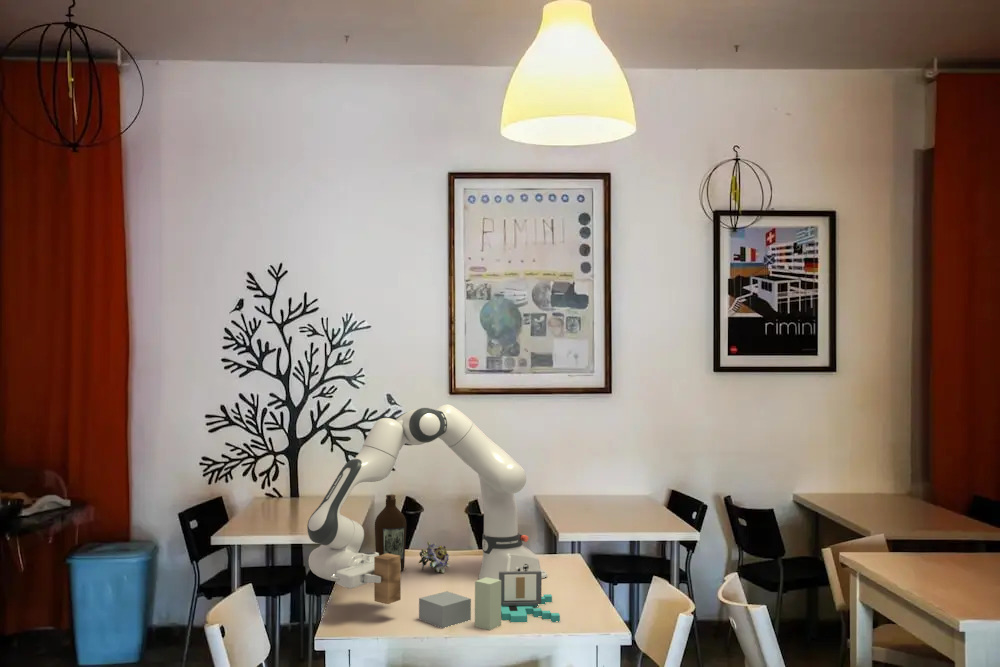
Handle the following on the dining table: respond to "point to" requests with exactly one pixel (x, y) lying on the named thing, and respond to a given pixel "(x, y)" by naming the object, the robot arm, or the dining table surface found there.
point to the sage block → (487, 603)
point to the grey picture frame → (520, 588)
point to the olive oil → (391, 530)
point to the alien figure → (528, 611)
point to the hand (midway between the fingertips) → (389, 576)
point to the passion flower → (435, 557)
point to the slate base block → (445, 609)
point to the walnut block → (387, 578)
